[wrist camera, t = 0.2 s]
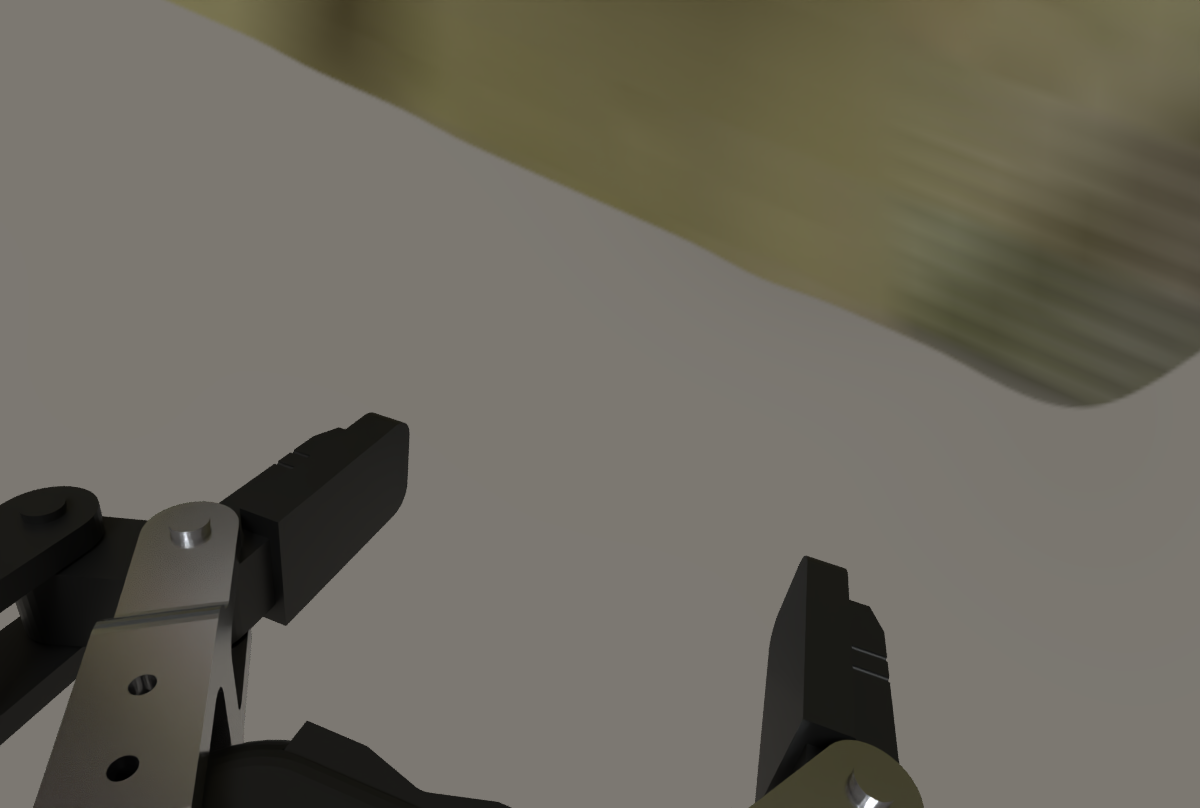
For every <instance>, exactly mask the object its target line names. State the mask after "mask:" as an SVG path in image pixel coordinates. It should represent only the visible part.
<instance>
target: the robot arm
mask: <svg viewBox="0 0 1200 808" xmlns="http://www.w3.org/2000/svg"><path fill="white" fill-rule="evenodd" d="M408 454H409V428H408V426H407V424H405V423H403V422H400V421H397V420H394V419H391V418H388V417H385V416H382V415H379V414H376V413H368V414H366V415H364V416H363V417H362V418H360V419H359V420H358V421H356V422H355V423H354V424H352V425H351V426H350V427H348V428H347V429H342V428H336V429H333V430H330V431H327V432H324V433H321V434H319V435H316V436H313V437H312V438H310V439H309V440H308V441H306V442H305V443H303V444H302V445H300V446H299V447H297V448H296V449H295V450H294V452H293V453H289V454H288V455H286V456H285V457H283V458H282V459H281V460H279V461H278V464H277V465H276V464H273V465H272V466H271V467H269V468H268V469H266V470H265V471H264V472H262V473H261V474H260V475H258V476H257V477H255V478H254V479H252V480H251V481H249V482H248V483H247V484H246V485H244V486H242V487H241V488H240V489H238V490H237V491H235V492H234V493H233V494H231V495H230V496H228V497H227V498H225V499H224V500H223V501H221V502H220V503H214V502H205V501H203V502H189V503H184V504H179V505H176V506H173V507H170V508H168V509H166V510H163V511H161V512H160V513H158V514H156V515H155V516H153V517H152V518H151V519H150V520H148V521H146V520H135V519H124V518H114V517H104V516H102V514H101V510H100V505H99V501H98V499H97V497H96V496H95V495H94V494H93V493H91V492H90V491H88V490H85V489H82V488H78V487H71V486H58V487H48V488H42V489H38V490H33V491H30V492H27V493H24V494H21V495H19V496H16V497H14V498H12V499H10V500H8V501H6V502H5V503H3V504H1V505H0V613H1V612H2V611H3V610H5V609H6V608H8V607H9V606H11V605H12V604H13V603H15V602H16V605H17V608H18V611H19V614H20V617H18V618H17V619H16V620H14V621H13V622H12V623H10V624H9V625H7V626H6V627H5V628H3V629H2V630H1V631H0V745H1V744H2V743H3V742H5V741H6V740H7V739H8V738H9V737H10V736H11V735H13V734H14V733H15V732H16V731H17V730H18V729H19V728H21V727H22V726H23V725H24V724H25V723H26V722H27V721H29V720H30V719H31V718H32V717H33V716H34V715H35V714H36V713H38V712H39V711H40V710H41V709H42V708H43V707H45V706H46V705H47V704H48V703H49V702H50V701H51V700H52V699H53V698H55V697H56V696H57V695H58V694H59V693H61V692H62V691H63V690H64V689H65V688H66V687H67V686H69V685H70V684H71V683H72V682H73V681H74V680H75V679H76V680H75V683H74V686H73V689H72V692H71V695H70V698H69V701H68V704H67V707H66V710H65V713H64V716H63V719H62V722H61V725H60V728H59V731H58V734H57V737H56V740H55V743H54V746H53V750H52V752H51V755H50V758H49V761H48V764H47V767H46V771H45V773H44V777H43V779H42V782H41V785H40V788H39V791H38V794H37V797H36V801H35V803H34V806H33V808H511V807H508V806H506V805H504V804H501V803H499V802H494V801H487V800H479V799H471V798H465V797H457V796H450V795H442V794H435V793H428V792H424V791H422V790H419V789H418V788H416V787H415V786H414V785H413V784H412V783H410V782H409V781H408V780H407V779H406V778H404V777H403V776H402V775H401V774H399V773H398V772H397V771H396V770H395V769H393V768H392V767H391V766H390V765H389V764H388V763H386V762H385V761H384V760H383V759H382V758H380V757H379V756H378V755H377V754H376V753H375V752H373V751H372V750H371V749H370V748H369V747H367V746H365V745H363V744H361V743H358V742H356V741H354V740H351V739H349V738H347V737H344V736H342V735H339V734H337V733H335V732H332V731H330V730H328V729H325V728H323V727H321V726H318V725H316V724H314V723H311V722H309V721H306V723H305V724H304V725H303V727H302V728H301V729H300V730H299V731H298V733H297V734H296V735H295V736H294V738H293V739H292V740H291V741H289V740H263V741H253V742H246V743H244V720H245V708H246V698H247V687H248V675H249V664H250V653H251V641H252V636H251V635H252V634H251V628H252V627H253V626H254V625H255V624H256V623H257V622H258V621H259V620H260V619H261V618H262V617H265V618H268V619H270V620H273V621H275V622H278V623H281V624H283V625H285V626H286V625H287V624H288V623H289V622H290V621H291V620H292V619H293V618H294V617H295V616H296V615H297V614H298V613H299V612H300V611H301V610H302V609H303V608H304V607H305V606H306V605H307V604H308V603H309V602H310V601H311V600H312V599H313V598H314V596H316V594H318V592H319V591H320V590H321V589H322V588H323V587H324V586H325V585H326V584H327V583H328V582H329V581H330V580H331V579H332V578H333V577H334V576H335V575H336V574H337V573H338V572H339V571H340V570H341V569H342V568H343V567H344V566H345V565H346V564H347V563H348V561H350V560H351V559H352V558H353V556H355V554H356V553H358V551H359V550H360V549H361V548H362V547H363V546H364V545H365V544H366V543H367V542H368V541H369V540H370V539H371V538H372V537H373V536H374V535H375V534H376V533H377V532H378V531H379V530H380V529H381V528H382V527H383V526H384V525H385V524H386V523H387V522H388V521H389V520H390V519H391V517H392V516H394V514H395V513H396V512H397V511H398V509H399V507H400V506H401V504H402V501H403V499H404V496H405V493H406V489H407V476H408ZM886 658H887V653H886V644H885V636H884V631H883V629H882V628H881V626H880V624H879V622H878V621H877V619H876V617H875V615H874V614H873V612H872V610H871V608H870V607H869V606H866V605H863V604H860V603H857V602H854V601H851V600H849V588H848V572H847V570H846V569H845V568H842V567H839V566H836V565H833V564H830V563H827V562H824V561H821V560H818V559H815V558H812V557H809V556H804V557H803V558H802V560H801V562H800V564H799V566H798V569H797V571H796V573H795V576H794V578H793V580H792V583H791V585H790V588H789V590H788V592H787V594H786V597H785V599H784V601H783V604H782V606H781V608H780V611H779V613H778V616H777V618H776V621H775V625H774V628H773V632H772V636H771V641H770V647H769V657H768V667H767V678H766V689H765V700H764V711H763V722H762V733H761V744H760V755H759V765H758V777H757V788H756V798H755V803H754V804H753V805H752V806H751V807H749V808H924V806H923V803H922V798H921V796H920V793H919V791H918V789H917V787H916V785H915V784H914V782H913V780H912V779H911V777H910V776H909V775H908V773H907V772H906V771H905V770H904V769H903V767H902V766H901V765H899V759H898V751H897V742H896V733H895V724H894V715H893V706H892V699H891V689H890V683H889V682H888V679H889V671H888V662H887V661H886Z"/></svg>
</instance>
